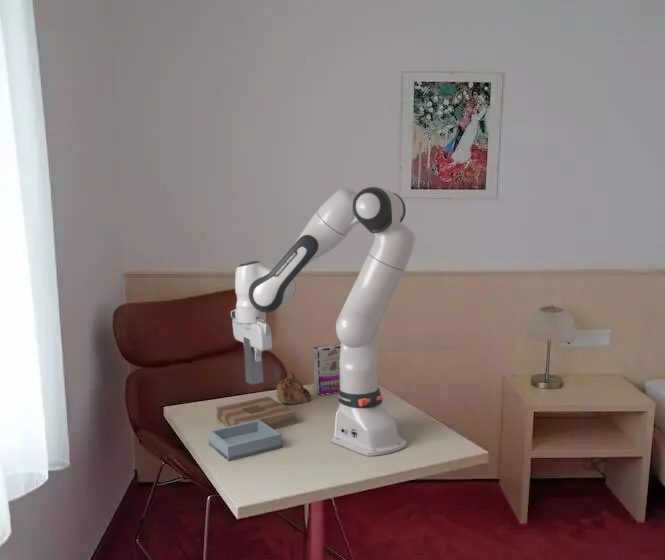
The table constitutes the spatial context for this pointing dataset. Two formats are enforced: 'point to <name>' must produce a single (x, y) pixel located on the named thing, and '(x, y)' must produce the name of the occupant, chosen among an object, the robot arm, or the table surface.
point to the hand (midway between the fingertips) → (253, 359)
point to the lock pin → (252, 365)
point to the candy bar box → (327, 368)
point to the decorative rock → (292, 391)
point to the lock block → (256, 413)
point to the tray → (244, 440)
